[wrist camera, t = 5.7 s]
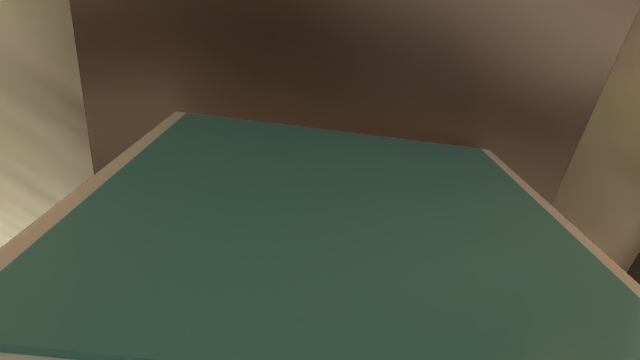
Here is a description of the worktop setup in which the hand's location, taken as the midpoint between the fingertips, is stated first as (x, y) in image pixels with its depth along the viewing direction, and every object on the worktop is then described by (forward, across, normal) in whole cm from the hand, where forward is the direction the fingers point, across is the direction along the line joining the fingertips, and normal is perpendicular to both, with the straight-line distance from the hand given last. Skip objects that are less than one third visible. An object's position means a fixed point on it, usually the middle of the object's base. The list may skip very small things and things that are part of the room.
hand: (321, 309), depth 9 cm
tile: (+1, 0, -1) cm, 1 cm away
